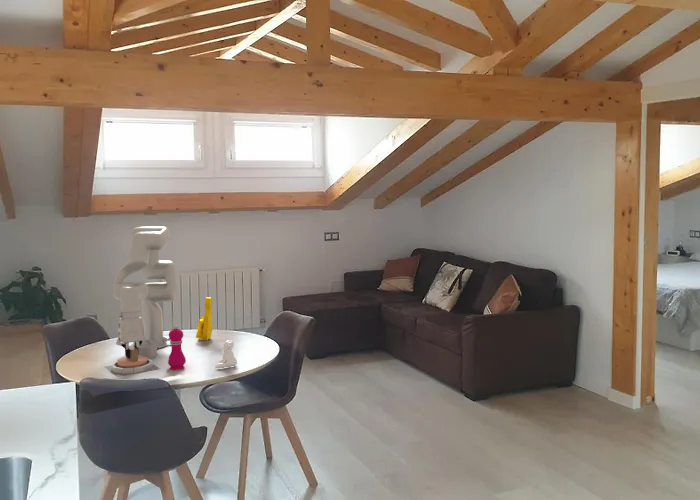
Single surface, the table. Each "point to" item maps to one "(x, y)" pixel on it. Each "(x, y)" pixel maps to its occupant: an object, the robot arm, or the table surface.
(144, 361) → the cover
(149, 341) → the lumpy-topped squat cylinder
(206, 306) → the figure statuette
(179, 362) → the pepper mill
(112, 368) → the base plate
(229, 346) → the seated beast figurine
